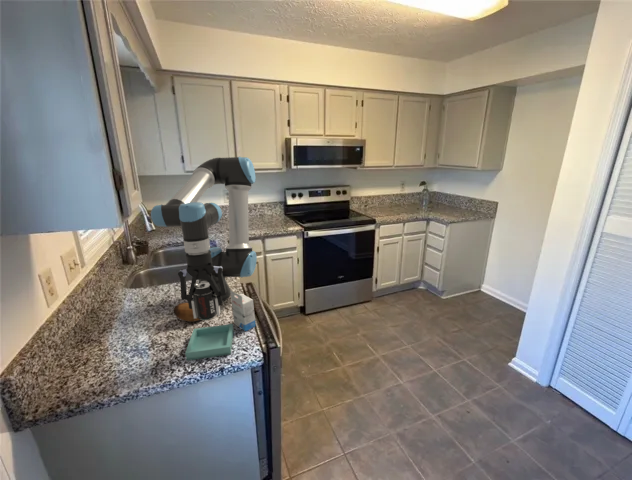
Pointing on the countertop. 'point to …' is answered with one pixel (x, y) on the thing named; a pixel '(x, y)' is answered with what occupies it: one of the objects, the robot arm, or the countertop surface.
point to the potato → (184, 312)
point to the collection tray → (210, 342)
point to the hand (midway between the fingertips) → (207, 314)
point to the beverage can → (204, 301)
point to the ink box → (243, 311)
